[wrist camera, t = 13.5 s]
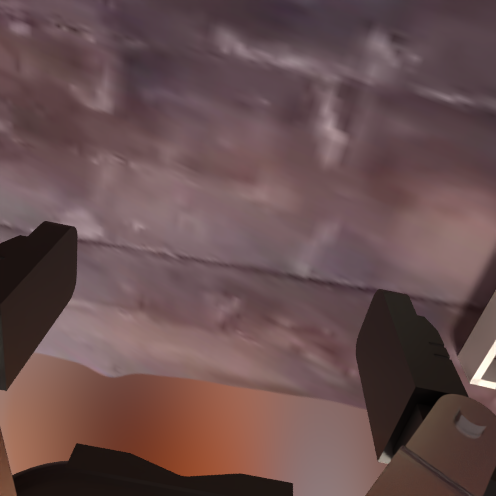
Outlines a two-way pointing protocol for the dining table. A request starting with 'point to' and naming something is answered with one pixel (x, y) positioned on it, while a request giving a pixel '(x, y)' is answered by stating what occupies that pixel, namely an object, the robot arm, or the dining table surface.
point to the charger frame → (481, 349)
